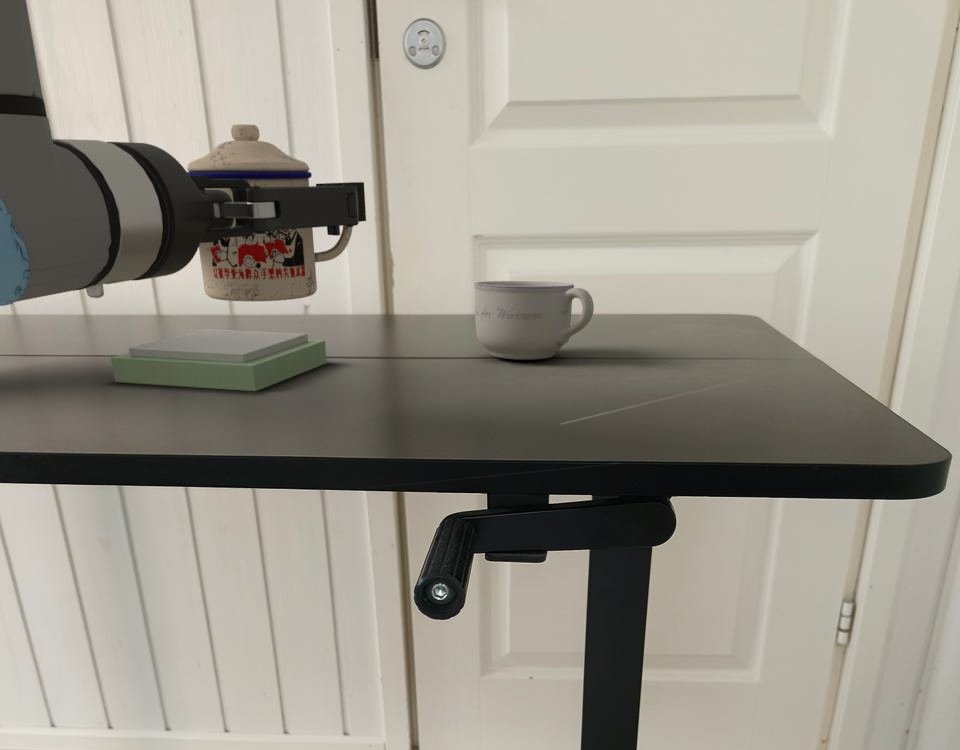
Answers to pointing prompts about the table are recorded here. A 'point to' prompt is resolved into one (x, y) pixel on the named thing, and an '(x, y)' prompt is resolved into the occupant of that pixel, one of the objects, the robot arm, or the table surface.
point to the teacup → (527, 317)
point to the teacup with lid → (275, 254)
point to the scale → (220, 359)
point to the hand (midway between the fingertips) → (294, 201)
